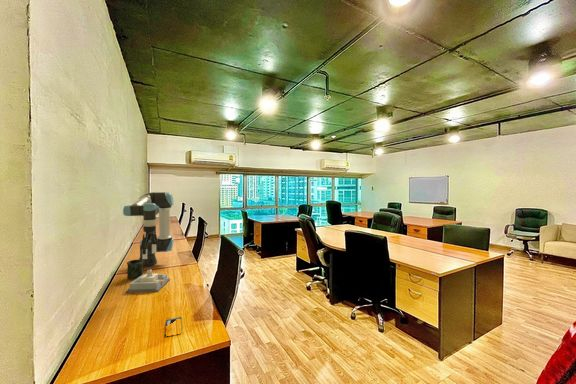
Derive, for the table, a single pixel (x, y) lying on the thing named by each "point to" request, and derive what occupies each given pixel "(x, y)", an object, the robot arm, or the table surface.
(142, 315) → the table surface
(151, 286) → the grey walled tray
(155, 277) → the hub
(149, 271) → the post
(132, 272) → the mug
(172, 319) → the smartphone
